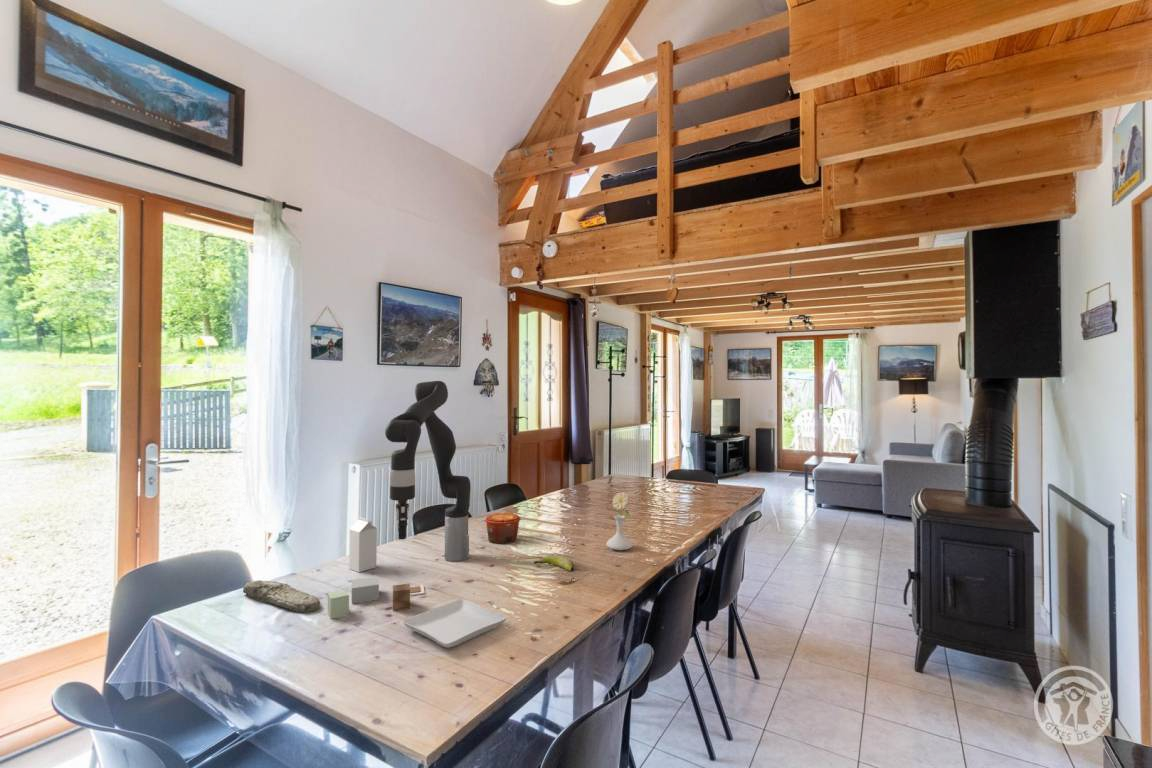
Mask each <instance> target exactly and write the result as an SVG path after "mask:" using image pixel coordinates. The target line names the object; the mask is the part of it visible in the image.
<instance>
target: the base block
mask: <svg viewBox="0 0 1152 768" xmlns="http://www.w3.org/2000/svg"><path fill="white" fill-rule="evenodd" d="M379 586H380V582H379V577H378V575H377V576H369V577H361V578H353V579H351V604H356V603H357V604H358V603H362V602H364V603H365V602H370V601H376V600H377V601H378V600H379V599H380V595H379V594H380V587H379Z"/></svg>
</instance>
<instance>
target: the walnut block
mask: <svg viewBox="0 0 1152 768" xmlns="http://www.w3.org/2000/svg"><path fill="white" fill-rule="evenodd" d="M410 585H411V584H410V583H403V584H402V583H401V584H394V585H392V611H393V612H396V611H403V610H408V609H409V610H410V609H411V596H410V587H411V586H410Z"/></svg>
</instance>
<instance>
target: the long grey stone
mask: <svg viewBox="0 0 1152 768" xmlns="http://www.w3.org/2000/svg"><path fill="white" fill-rule="evenodd" d="M242 588H243V590H242V593H244V594H246V595H248V597H250V598H252V599H253V600H254V601H258V602H264V603H267V604H271V605H274V606H276V607H282V608H284V609H286V610H288V611H291V610H292V611H291V612H297V613H311V612H315V611H317V610H319V609H320V607H321V602H320V599H319V598H318V597H317V596H315V595H312V594H309V593H307V592H304V591H301V590H298V589H296V588H294V587H292V586H290V585H289V584H288V583H282V582H280V581H279V582H278V581H271V580H270V581H269V580H253V581H248V582H247V583H245V585H243V586H242Z"/></svg>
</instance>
